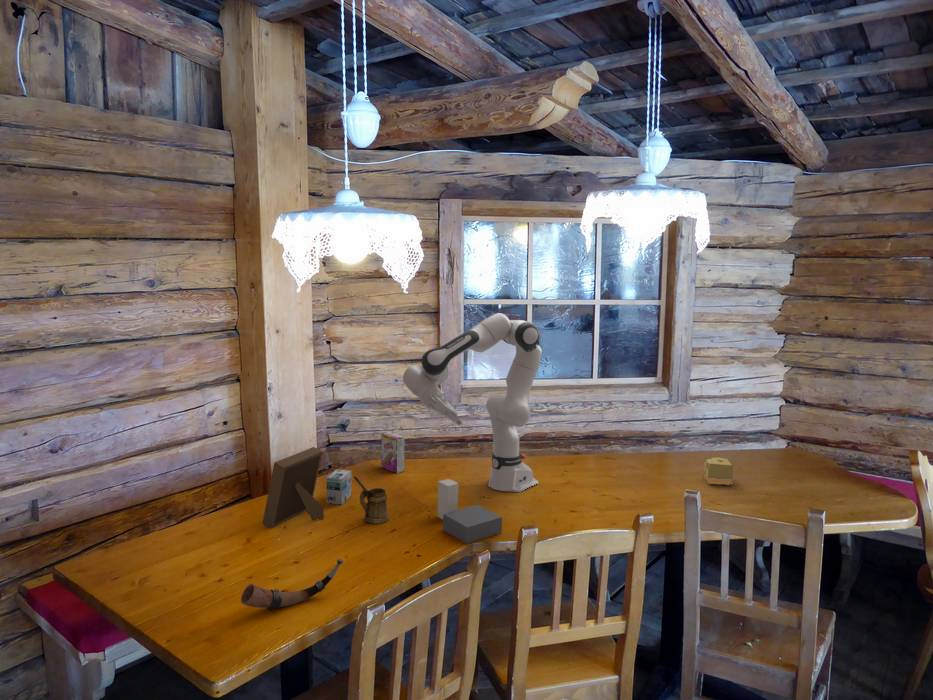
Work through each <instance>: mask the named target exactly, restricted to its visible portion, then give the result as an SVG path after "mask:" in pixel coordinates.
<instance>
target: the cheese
mask: <svg viewBox="0 0 933 700" xmlns="http://www.w3.org/2000/svg"><path fill="white" fill-rule="evenodd" d="M733 469H734V467H733V465H732V463H731V462H730V461H729V460H728V458H725V457H724V458H723V457H711V458H710V459H709V458H706V460H705V461H704V464H703V470H702V472H703V471H704V472H705V473H706V476H707V478H716V479H732V480H733V477H734V470H733Z"/></svg>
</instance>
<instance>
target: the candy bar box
mask: <svg viewBox="0 0 933 700" xmlns="http://www.w3.org/2000/svg"><path fill="white" fill-rule="evenodd" d="M380 436H381V439H380V440H381V448H380V451H381V452H380V453H381V454H380V456H381V457H380V459H381V465H380V468H382V469H384V470H387V471H389V472H392V473H395V474H401V473H403V471H404V472H405V458H406V457H405V454H406V453H405V451H406V450H405V449H406V448H405V445H406V443H405V442H406V437H405V436H404V435H400V434H397V433H394V432H393V431H392V432H391V431H386V432H382V433H381V435H380ZM400 472H401V473H400Z"/></svg>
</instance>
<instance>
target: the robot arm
mask: <svg viewBox="0 0 933 700" xmlns="http://www.w3.org/2000/svg"><path fill="white" fill-rule="evenodd" d="M540 334H541V333H540V329H539V328H538V327H537V325H536V324H534V323H532V322H529V321H526V320H522V319H514V318H513V319H512V318H511V319H509V317H508V316H507V315H505V314H504V313H502V312H500V313H499V312H497V313H495V314H492V315H491V316H490V315H489V317H487V318H484V319H483V320H482V321H481V320H480V322H479V323H477V324H475V325H474V326H473V327H471V328H470V329H468V330H467V331H465V332H463V333H462V334H461V333H460V335H458V336H456V337H455V338H453V339H451V340H449V341H448V342H446V343H445V344H443V345H441V346H438V347H435V348H434V347H433V348H430V349H428V350H427V351H426V352H424V353H423V355H422V358H421V364H417V365H416V364H415V365H414V364H412V365H410V366H408V367H407V368H406V370H405V371H404V373H403V375H402V382H403V384H404V385H405V387H407V389H408V390H409V391H410V392H411V393H412V394H413V395H415V396H416V397H417V398H418V399H419V401H420V402H421V403H422V404H423V405H424V406H425V407H426V408H427V410H430V411H431V410H434V411H437V412H438V413H439V414H440V415H442V416H444V417H445V418H448V419H449V420H450V421H452V422H453V423H456V425H458V426H461V425H462V424H463V421H462V420H461V419H460V418H459V416H458V412H457V411H456V410H455V408H454V407H453V406H452V405H451V403H450V402H449V401H448V400H447V399H448V398H447V397H446V393H445V392H444V391H443V390H442V389H441V388H440V387H439V385H441V384H443V383H445V381H446V380H447V379H448V377H449V364H450V362H451V361H452V360H453V359H454V358H456V357H457V356H459V355H462V353H464V352H466V351H468V350H472V351H474V352H476V353H483V352H486V351H488V350H489V349H492V348H493V347H494V346H495V345H497V344H498V343H499V342H501V341H503V342H505V343H506V344H509V345H511V346H515V355H514V358H513V360H512V363H511V366H510V367H509V370H508V373H507V375H506V377H505V378H506V379H505V381H506V382H505V383H506V394H504V393H493V394H492V395H490V396H489V397H488V399H487V401H486V404H485V407H486V410H487V412H488V415H489V418H490V424H491V429H492V434H493V435H492V436H493V438H492V439H493V445H492V447H493V448H492V449H493V450H492V453H491V469H490V476H489V479H488V483H487V486H488V487H489V488H490V487H491V488H490V489H493V490H495V491H498V492H499V491H501V492H512V493H513V492H514V493H520V492H521V493H522V492H523V491H526V490H527V488H528V489H530V488H532V487H531V486H533V487H534V485H535V486H537V485H539V481H538V480H537V479H536V478H534V473H533V471H532V469H531V467H530V466H528V465H526V463H524V462H523V460H526V459H527V455H526V454H524V453H522V454H520V434H519V432H518V430H517V428H522V427H524V426H526V425H527V424H528V423H529V422H530V419H531V410H530V406H529V405H530V403H529V402H530V394H531V389H532V385H533V382H534V380H535V378H536V375H537V372H538V369H539V367H540V363H541V360H542V354H543V351H542V348H541V346H540V336H541V335H540ZM536 484H537V485H536ZM529 487H530V488H529ZM525 489H526V490H525Z"/></svg>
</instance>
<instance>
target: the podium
mask: <svg viewBox="0 0 933 700" xmlns="http://www.w3.org/2000/svg"><path fill="white" fill-rule="evenodd" d="M502 529H503V516H501V515H499V514H497V513H495V512H493V511H491V510H489V509H487V508H485V507H483V506H481V505H479V504H476V505H472V506H468V507H464V508H460V509H458V510H457V511H453V512H449V513H446V514H443V519H442V530H443V531H444V532H446V533H447V534H449V535H451V536H453V537H455V538H456V539H457V540H459V541H461V542H462V543H464V544H467V545H468V544H470V543H473V541H474V542H477V541H479V539H480V540H483V539H486V538H489V537H488V536H490V537H492V536H491V535H493V536H495V535H494V534H496V535H498V534H497V533H499V534H501V533H500V532H502ZM485 537H486V538H485ZM482 538H483V539H482ZM476 540H477V541H476Z"/></svg>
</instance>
